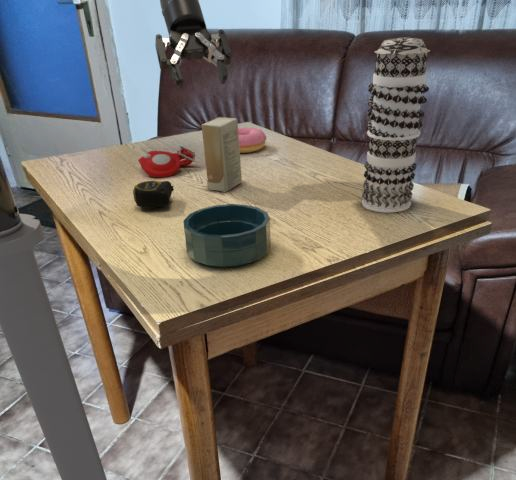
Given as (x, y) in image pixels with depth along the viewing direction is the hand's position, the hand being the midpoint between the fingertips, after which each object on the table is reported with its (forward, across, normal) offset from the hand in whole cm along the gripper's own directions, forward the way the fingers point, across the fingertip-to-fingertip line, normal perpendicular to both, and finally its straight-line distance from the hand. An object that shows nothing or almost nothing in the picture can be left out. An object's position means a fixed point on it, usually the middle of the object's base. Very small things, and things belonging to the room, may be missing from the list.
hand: (203, 83), depth 99 cm
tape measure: (+22, -14, +2) cm, 26 cm away
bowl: (+40, -8, -15) cm, 43 cm away
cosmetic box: (+19, 0, +5) cm, 20 cm away
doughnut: (+2, +12, +23) cm, 26 cm away
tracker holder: (+8, -8, +17) cm, 20 cm away
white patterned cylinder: (+35, +23, -10) cm, 43 cm away
